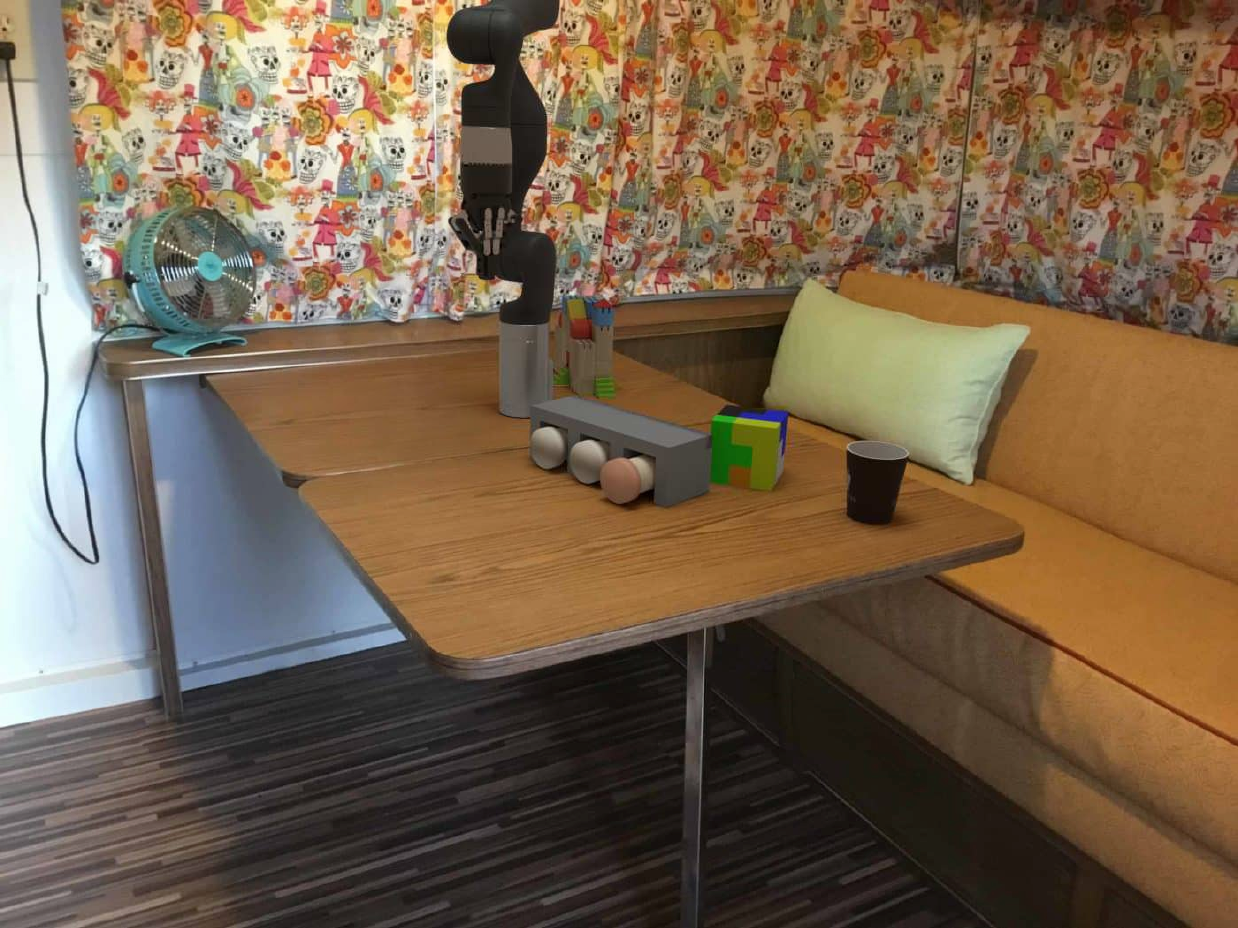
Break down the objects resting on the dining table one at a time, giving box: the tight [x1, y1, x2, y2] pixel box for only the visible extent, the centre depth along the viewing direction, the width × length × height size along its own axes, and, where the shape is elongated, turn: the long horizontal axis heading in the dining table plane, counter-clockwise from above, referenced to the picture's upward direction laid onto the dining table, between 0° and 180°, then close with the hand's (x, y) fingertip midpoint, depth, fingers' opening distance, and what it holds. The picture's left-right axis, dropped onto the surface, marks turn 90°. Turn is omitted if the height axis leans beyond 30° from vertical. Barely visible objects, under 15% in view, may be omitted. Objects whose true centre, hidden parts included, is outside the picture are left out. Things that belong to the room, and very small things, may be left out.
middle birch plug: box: [570, 440, 611, 485], centre depth 157 cm, size 10×6×6 cm, turn 137°
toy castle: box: [551, 294, 623, 399], centre depth 213 cm, size 28×14×19 cm, turn 17°
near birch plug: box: [529, 427, 568, 470], centre depth 163 cm, size 10×6×6 cm, turn 137°
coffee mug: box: [846, 440, 910, 526], centre depth 146 cm, size 12×9×10 cm
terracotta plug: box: [600, 454, 656, 505], centre depth 150 cm, size 10×6×6 cm, turn 137°
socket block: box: [529, 394, 713, 508], centre depth 158 cm, size 10×29×9 cm, turn 47°
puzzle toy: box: [710, 404, 789, 492], centre depth 160 cm, size 10×10×10 cm
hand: (486, 279), depth 154 cm, fingers closed
